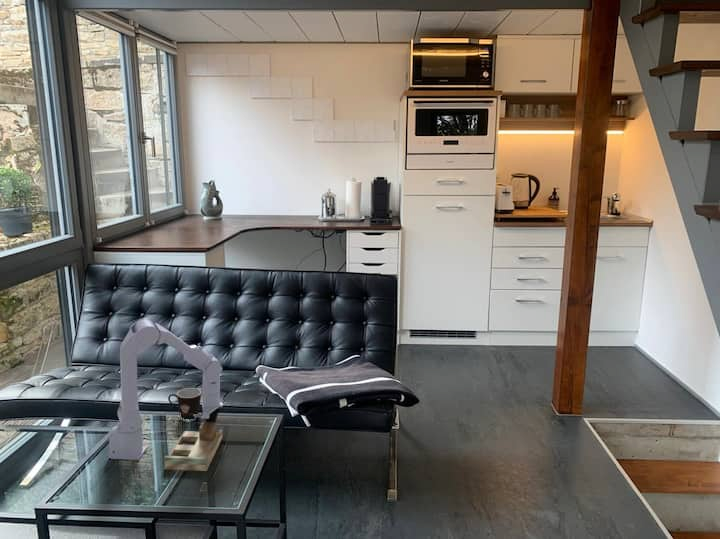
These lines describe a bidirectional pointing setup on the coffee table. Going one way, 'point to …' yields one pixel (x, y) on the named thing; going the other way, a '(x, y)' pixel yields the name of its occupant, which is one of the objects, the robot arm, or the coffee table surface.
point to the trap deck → (192, 452)
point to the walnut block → (207, 431)
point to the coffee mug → (188, 402)
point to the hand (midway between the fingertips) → (211, 428)
